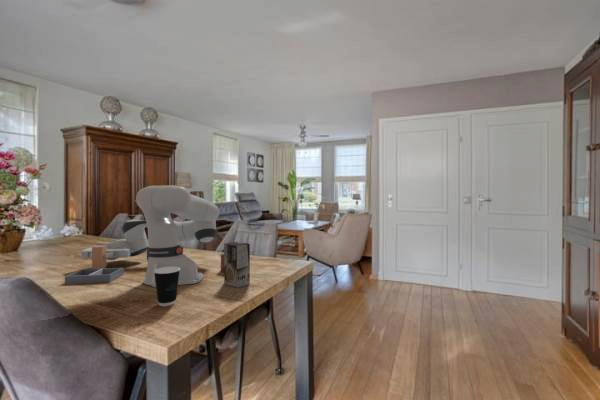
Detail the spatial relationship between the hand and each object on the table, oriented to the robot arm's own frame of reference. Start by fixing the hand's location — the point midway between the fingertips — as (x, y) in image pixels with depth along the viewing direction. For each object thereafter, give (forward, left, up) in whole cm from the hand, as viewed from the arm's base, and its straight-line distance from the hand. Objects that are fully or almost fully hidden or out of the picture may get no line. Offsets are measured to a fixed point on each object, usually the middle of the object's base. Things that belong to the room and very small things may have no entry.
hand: (98, 256), depth 130 cm
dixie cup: (-42, +44, -8) cm, 61 cm away
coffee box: (-63, +26, -8) cm, 68 cm away
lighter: (-58, +5, -8) cm, 58 cm away
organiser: (-4, +11, -7) cm, 14 cm away
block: (0, -1, -6) cm, 6 cm away
